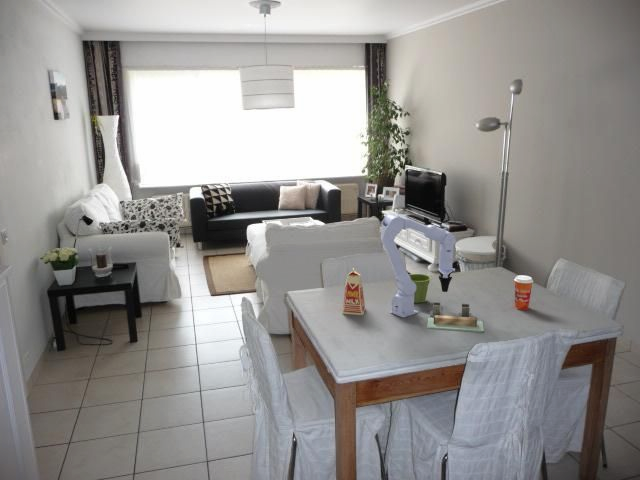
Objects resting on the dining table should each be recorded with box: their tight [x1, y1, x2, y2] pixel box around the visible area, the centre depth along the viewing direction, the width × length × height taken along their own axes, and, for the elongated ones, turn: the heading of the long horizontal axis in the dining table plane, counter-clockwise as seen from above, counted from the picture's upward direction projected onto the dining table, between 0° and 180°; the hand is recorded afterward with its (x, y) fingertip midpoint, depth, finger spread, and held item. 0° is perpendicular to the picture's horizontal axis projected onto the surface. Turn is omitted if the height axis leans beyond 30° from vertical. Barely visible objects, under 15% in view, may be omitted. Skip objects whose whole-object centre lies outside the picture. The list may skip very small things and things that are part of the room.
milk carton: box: [341, 267, 366, 316], centre depth 233 cm, size 9×9×20 cm
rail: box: [433, 314, 478, 327], centre depth 216 cm, size 17×3×3 cm, turn 77°
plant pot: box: [408, 273, 432, 304], centre depth 245 cm, size 12×12×11 cm
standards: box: [429, 301, 472, 318], centre depth 227 cm, size 17×5×5 cm, turn 77°
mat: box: [426, 317, 485, 333], centre depth 217 cm, size 22×10×1 cm, turn 77°
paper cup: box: [513, 274, 534, 311], centre depth 233 cm, size 8×8×14 cm
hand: (444, 288), depth 233 cm, fingers open, 7 cm apart
